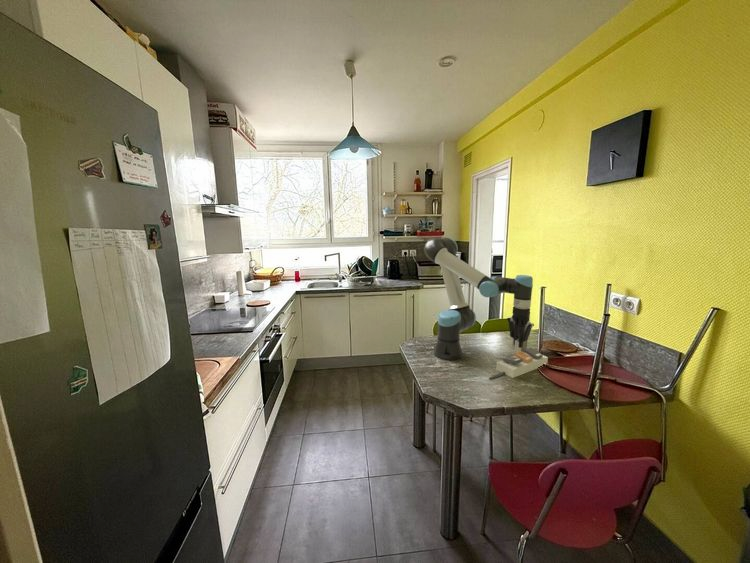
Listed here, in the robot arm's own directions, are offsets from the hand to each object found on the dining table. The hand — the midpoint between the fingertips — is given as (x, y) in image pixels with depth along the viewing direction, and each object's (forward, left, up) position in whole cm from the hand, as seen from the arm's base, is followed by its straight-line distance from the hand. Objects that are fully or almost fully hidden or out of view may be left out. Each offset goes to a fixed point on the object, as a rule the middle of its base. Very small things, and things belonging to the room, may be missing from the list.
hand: (517, 352), depth 147 cm
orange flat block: (+3, 0, -1) cm, 3 cm away
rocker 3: (+3, +8, -1) cm, 9 cm away
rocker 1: (+3, -8, -1) cm, 9 cm away
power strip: (+3, -5, -6) cm, 9 cm away
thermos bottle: (-12, +19, -7) cm, 23 cm away
